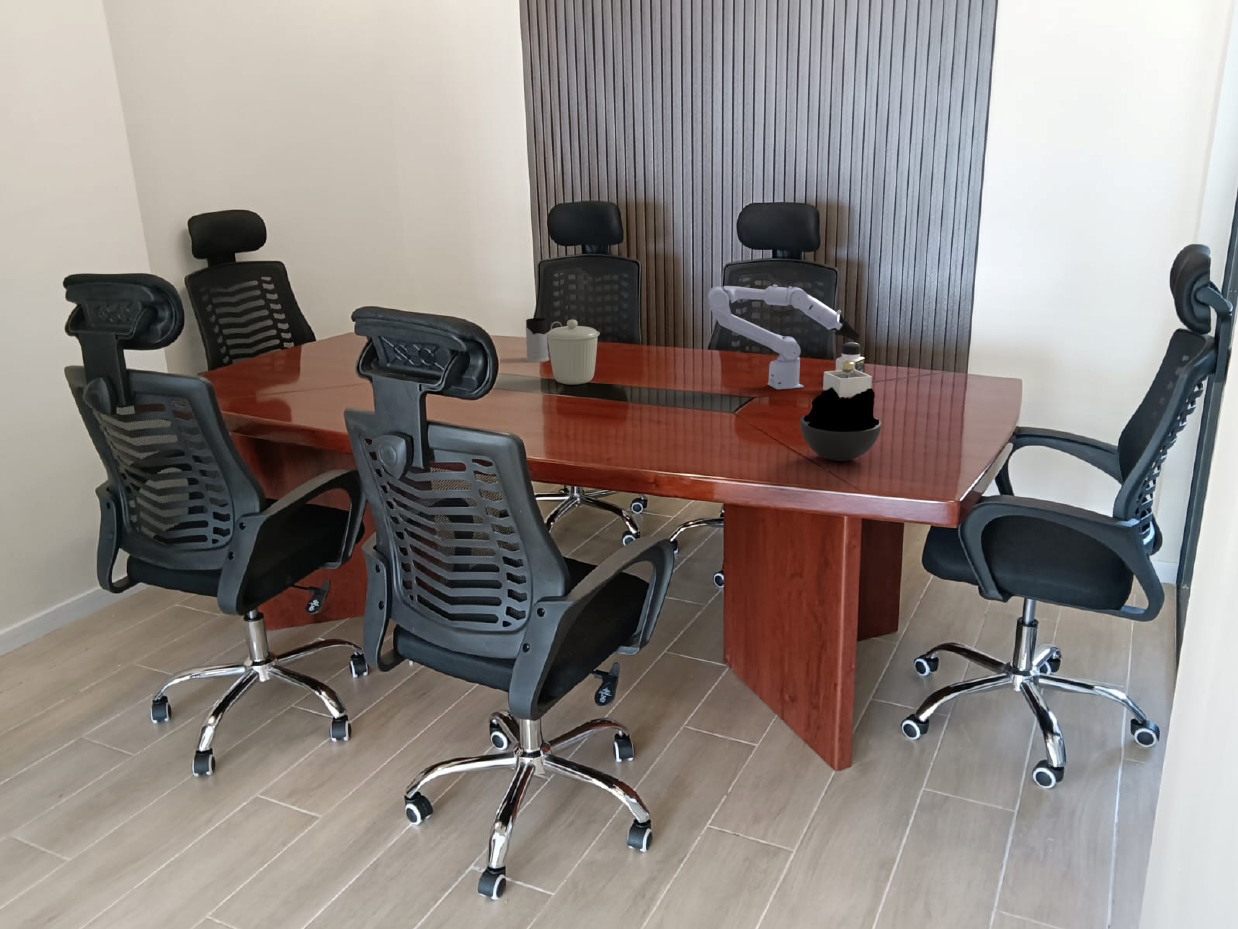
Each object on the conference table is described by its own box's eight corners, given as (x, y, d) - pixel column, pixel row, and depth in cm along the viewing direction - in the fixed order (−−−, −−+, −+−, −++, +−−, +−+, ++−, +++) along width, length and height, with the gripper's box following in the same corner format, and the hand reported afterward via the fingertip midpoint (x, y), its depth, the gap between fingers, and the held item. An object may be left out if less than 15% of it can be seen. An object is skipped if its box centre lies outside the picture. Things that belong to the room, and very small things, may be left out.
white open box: (839, 397, 314) (840, 379, 313) (823, 389, 325) (823, 371, 323) (870, 395, 317) (871, 376, 315) (853, 387, 327) (854, 369, 325)
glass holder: (523, 358, 379) (522, 318, 374) (560, 355, 383) (559, 316, 378) (528, 362, 371) (527, 322, 366) (566, 359, 375) (564, 319, 370)
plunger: (841, 383, 314) (842, 366, 313) (827, 377, 323) (828, 360, 321) (867, 381, 317) (868, 364, 315) (853, 375, 325) (854, 358, 323)
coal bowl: (785, 463, 253) (788, 390, 247) (817, 443, 268) (820, 374, 263) (861, 476, 242) (866, 400, 236) (890, 455, 258) (895, 383, 252)
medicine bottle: (854, 382, 334) (856, 346, 331) (834, 379, 338) (836, 344, 335) (863, 377, 340) (865, 342, 336) (844, 375, 344) (846, 340, 340)
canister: (608, 384, 336) (607, 321, 330) (556, 389, 330) (554, 326, 324) (589, 373, 352) (588, 313, 346) (540, 378, 346) (538, 317, 340)
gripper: (831, 306, 314) (867, 329, 316) (824, 298, 328) (858, 321, 330) (818, 324, 316) (853, 347, 318) (811, 317, 330) (845, 339, 332)
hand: (855, 335), depth 324 cm, fingers open, 7 cm apart
